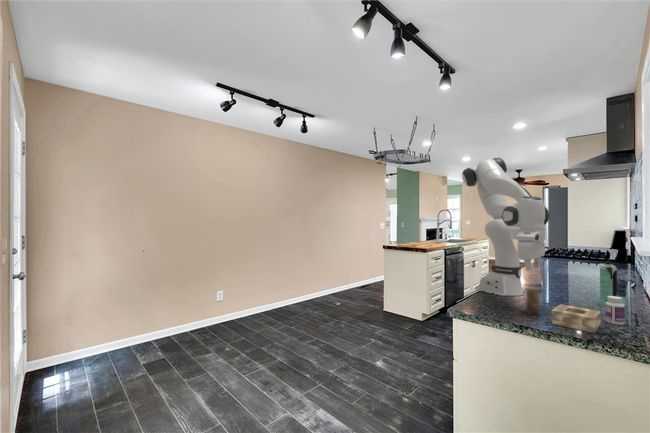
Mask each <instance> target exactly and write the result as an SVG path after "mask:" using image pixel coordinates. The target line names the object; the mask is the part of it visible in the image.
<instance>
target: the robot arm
mask: <svg viewBox="0 0 650 433" xmlns="http://www.w3.org/2000/svg"><path fill="white" fill-rule="evenodd" d="M507 168H508V167H507V164H506V162H505V160H504V159H503V158H501V157H495V158H492V159H491V158H485V159H483V160H481V161H480V162H478V163H477V164H475V165H471V166H470V167H467V168H465V169H464V170H463V171H462V173H461V178H462V182H463V183H464V184H465V185H466V186H467V187H475V186H476V187H477V193H478V196H479V199H480V202H481V203H482V206H483V208H484V210H485V213H486V214H487V215H488V216H489V217H491V218H492V220H490V221H488V222H487V223H486V224H485V226H484V232H485V235H486V236H487V237H488V238H489V240H490V242H491V244H492V246H493V250H494V262H495V263H494V264H492V265H491V266H490V269H491V271H490V272H488V273H486V274H485V275H483V276H482V277H481V278H480V280H479V284H478V285H476V286H475V287H474V290H476V291H480V292H483V290H484V289H485V288H486V289H485V290H484V293H488V294H492V293H494V294H493V295H496V294H497V295H498V296H502V297H503V296H510V297H511V296H512V297H513V296H514V297H515V296H523V295H524V290H523V287H522V281H521V276H522V269H521V265H520V264H521V262H520V260H523V263H524V265H525V270H526V271H532V270H533V268H534V269H535V268H536V269H539V268H540V263H541V257H544V256H545V254H546V248H545V247H546V246H545V240H546V224H548V222H549V221H550V217H551V215H550V211H549V210H548V208H547V207H546V206H545V202H544V200H543V199H542V198H541V197H539V196H533V195H532V194H530V192H529V191H528V190H527V189H526V188H525V187H524V186H523V185H522V184H520V183H519V182H517V181H515V180H514V179H513V178H511V177H510V176H509V175H508V174H507V172H508V169H507ZM505 196H506V197H509V198H512V199H514V200H515V201H516V202H515V203H512V204H511V205H509V203H508V201H507V199H506V197H505ZM514 240H516V241H517V246H516V245H515V242H514ZM532 260H533V266H532ZM487 287H488V288H487Z"/></svg>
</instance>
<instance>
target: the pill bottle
mask: <svg viewBox="0 0 650 433" xmlns="http://www.w3.org/2000/svg"><path fill="white" fill-rule="evenodd" d="M607 300H608V301H607V302H606V303H605V306H604V308H605V310H604V311H605V312H604V313H605V315H604V316H605V322H607V323H609V324H613V325H618V326H623V325H626V306H625V304H624V303H622V302H623V298H622V297H621V296H617V297H616V296H607Z"/></svg>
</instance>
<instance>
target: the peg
mask: <svg viewBox="0 0 650 433" xmlns="http://www.w3.org/2000/svg"><path fill="white" fill-rule="evenodd" d="M526 313H527V315H529V316H533V317H538V316H540V290H538V289H535V288H527V289H526Z"/></svg>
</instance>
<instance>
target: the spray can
mask: <svg viewBox="0 0 650 433" xmlns="http://www.w3.org/2000/svg"><path fill="white" fill-rule="evenodd" d="M599 266H600V267H599V287H600V288H599V294H600V295H599V300H600V303H599V304H600V306H602V307H605V303H606V302H607V301H608V300H607V296H616V297H618V269H617V268H618V267H617V266H615V265H613V264H612V262H611V261H610V260H606V261H605V262H604V263H603V264H602V265H599Z"/></svg>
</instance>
